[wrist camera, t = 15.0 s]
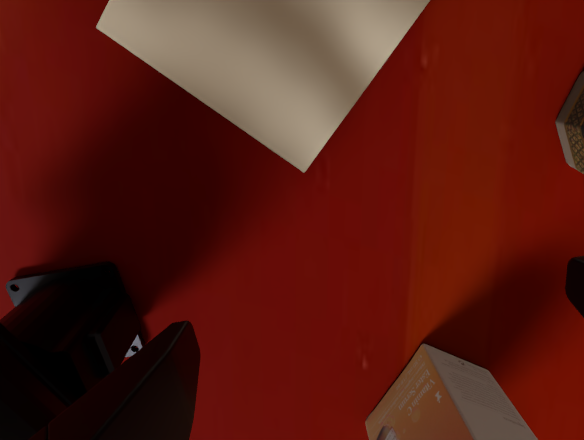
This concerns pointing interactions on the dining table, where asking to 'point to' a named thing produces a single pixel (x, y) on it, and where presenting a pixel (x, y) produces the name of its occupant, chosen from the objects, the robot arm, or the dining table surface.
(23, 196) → the dining table surface
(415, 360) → the small box
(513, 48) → the dining table surface
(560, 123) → the ceramic cup
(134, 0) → the white lined paper sheet
